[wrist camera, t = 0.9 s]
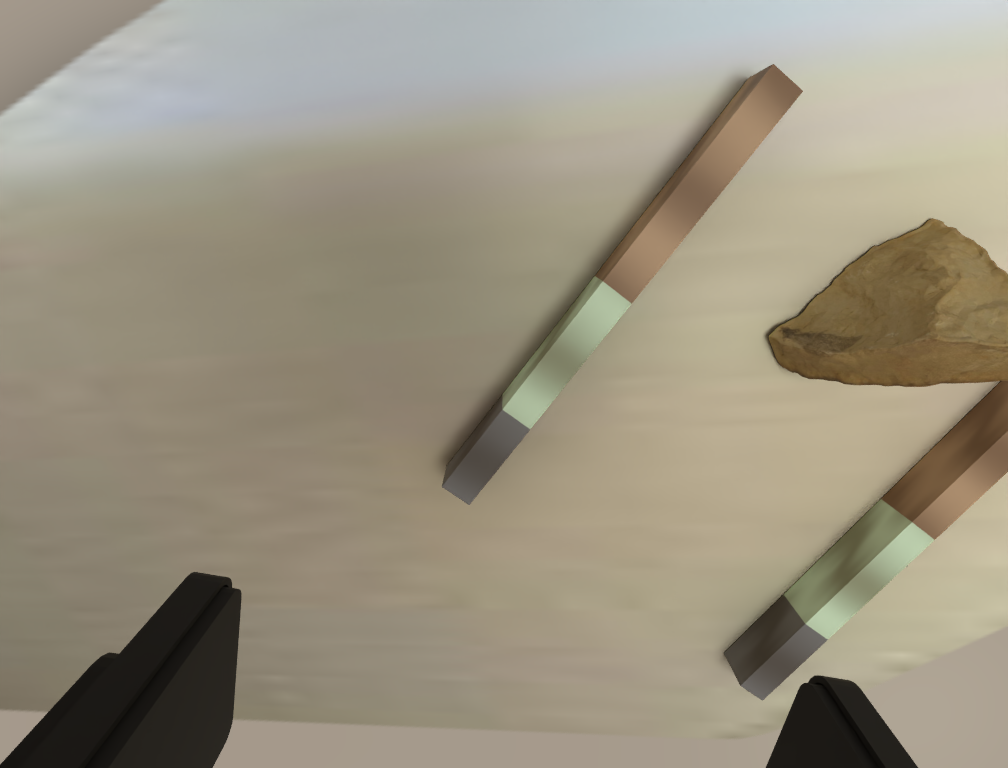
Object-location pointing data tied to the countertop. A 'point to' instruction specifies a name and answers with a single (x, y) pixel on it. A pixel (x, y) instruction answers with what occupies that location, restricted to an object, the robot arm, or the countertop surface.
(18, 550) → the countertop surface
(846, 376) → the rock
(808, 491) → the countertop surface
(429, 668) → the countertop surface
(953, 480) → the channel
